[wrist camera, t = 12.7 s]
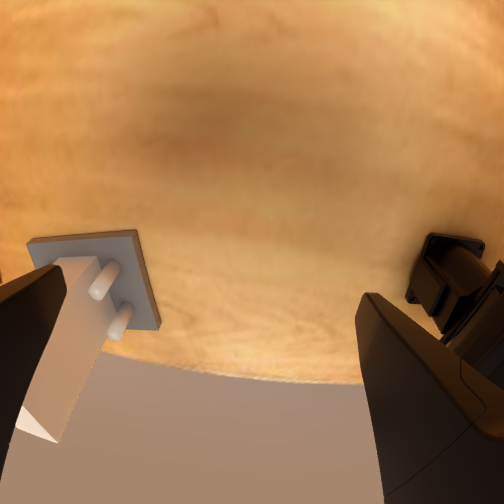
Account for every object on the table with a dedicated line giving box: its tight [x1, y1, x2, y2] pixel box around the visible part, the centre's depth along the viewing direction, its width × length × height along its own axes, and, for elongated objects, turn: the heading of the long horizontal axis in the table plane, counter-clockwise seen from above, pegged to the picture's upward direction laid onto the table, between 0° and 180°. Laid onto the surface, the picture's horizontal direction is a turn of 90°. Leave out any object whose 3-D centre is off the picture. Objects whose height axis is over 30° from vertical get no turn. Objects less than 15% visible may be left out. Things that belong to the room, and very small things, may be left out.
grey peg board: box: [26, 230, 161, 342], centre depth 22 cm, size 11×9×4 cm
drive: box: [15, 256, 117, 443], centre depth 18 cm, size 4×6×13 cm, turn 3°
